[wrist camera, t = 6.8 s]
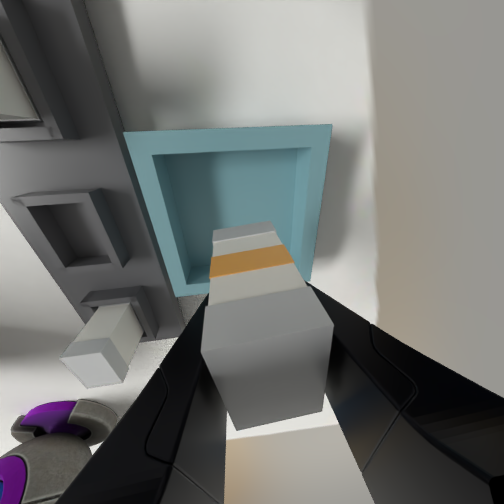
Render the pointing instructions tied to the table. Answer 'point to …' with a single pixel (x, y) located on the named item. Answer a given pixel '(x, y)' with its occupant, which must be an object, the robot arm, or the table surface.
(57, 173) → the fuse holder
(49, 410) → the webcam
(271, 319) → the marked fuse
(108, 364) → the block
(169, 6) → the table surface
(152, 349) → the table surface
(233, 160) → the tray
